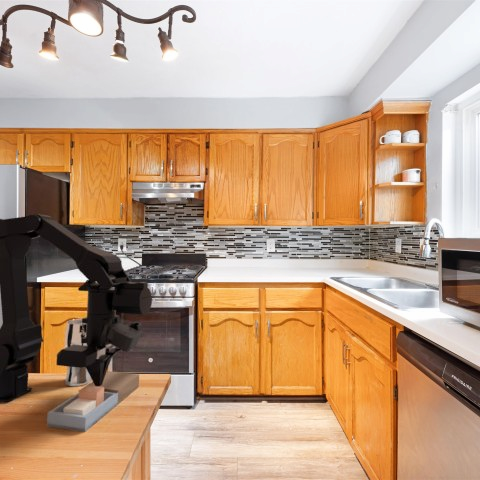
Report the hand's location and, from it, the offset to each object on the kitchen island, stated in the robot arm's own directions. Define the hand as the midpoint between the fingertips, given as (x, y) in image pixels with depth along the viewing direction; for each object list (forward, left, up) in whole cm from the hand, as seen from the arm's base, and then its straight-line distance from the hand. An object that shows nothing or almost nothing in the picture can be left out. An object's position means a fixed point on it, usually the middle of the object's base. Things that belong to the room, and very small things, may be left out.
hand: (98, 385), depth 66 cm
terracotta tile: (0, -1, -2) cm, 2 cm away
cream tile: (0, -6, -1) cm, 6 cm away
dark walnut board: (0, +5, -4) cm, 7 cm away
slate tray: (0, -4, -4) cm, 6 cm away
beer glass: (-12, +9, -4) cm, 16 cm away
